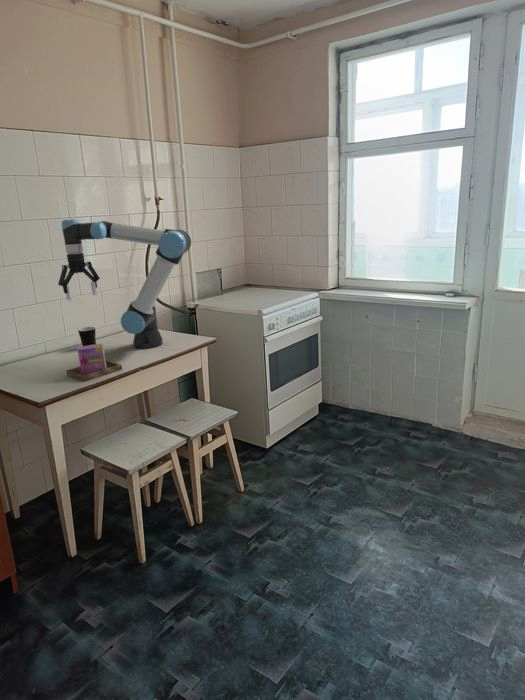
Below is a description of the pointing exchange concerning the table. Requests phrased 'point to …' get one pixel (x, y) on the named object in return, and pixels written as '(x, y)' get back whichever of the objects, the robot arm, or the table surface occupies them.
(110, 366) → the tray
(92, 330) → the coffee mug
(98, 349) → the box
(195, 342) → the table surface
